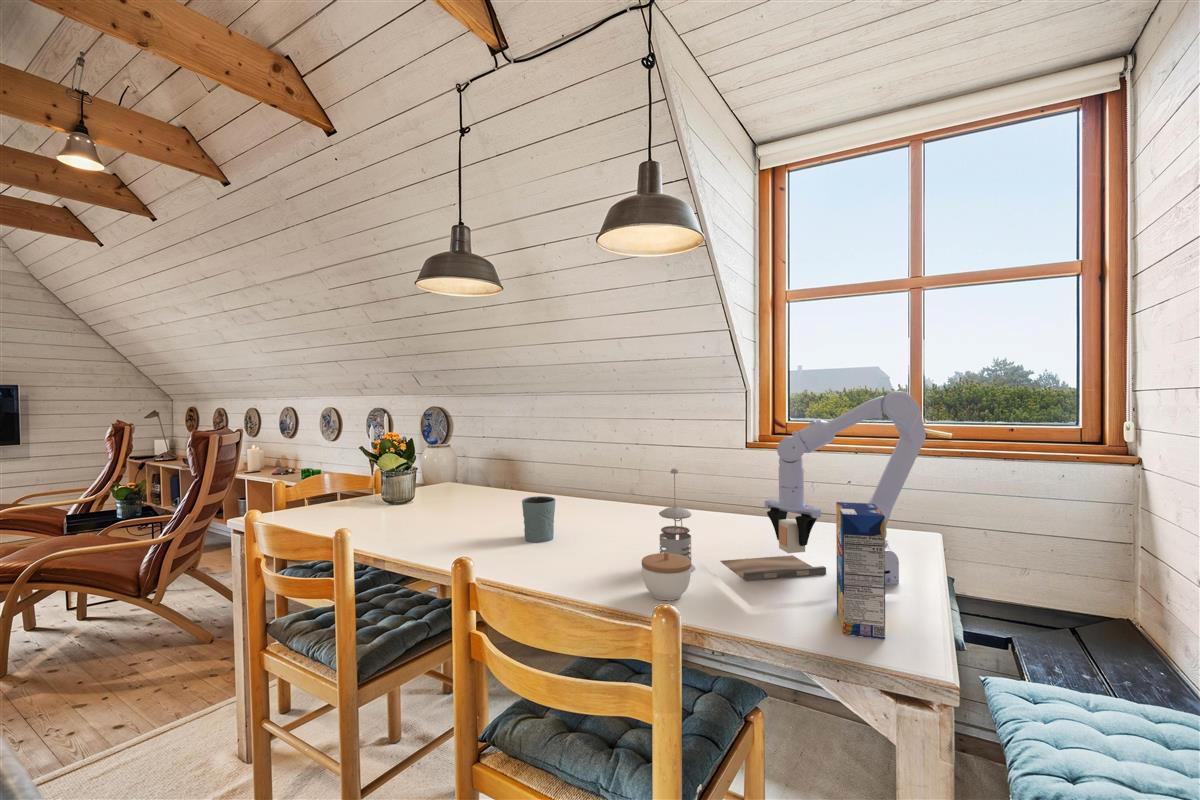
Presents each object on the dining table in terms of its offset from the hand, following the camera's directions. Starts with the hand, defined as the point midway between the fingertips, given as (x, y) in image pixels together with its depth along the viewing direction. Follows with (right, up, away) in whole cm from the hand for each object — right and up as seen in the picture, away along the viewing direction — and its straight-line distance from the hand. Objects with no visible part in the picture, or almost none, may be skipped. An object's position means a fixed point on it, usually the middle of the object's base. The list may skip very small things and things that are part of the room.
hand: (791, 542), depth 134 cm
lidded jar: (-32, -8, -14) cm, 36 cm away
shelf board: (-5, -7, 0) cm, 9 cm away
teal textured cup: (-65, -8, +33) cm, 73 cm away
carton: (0, -2, 0) cm, 2 cm away
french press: (-27, -8, +5) cm, 29 cm away
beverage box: (+2, -8, -30) cm, 31 cm away
